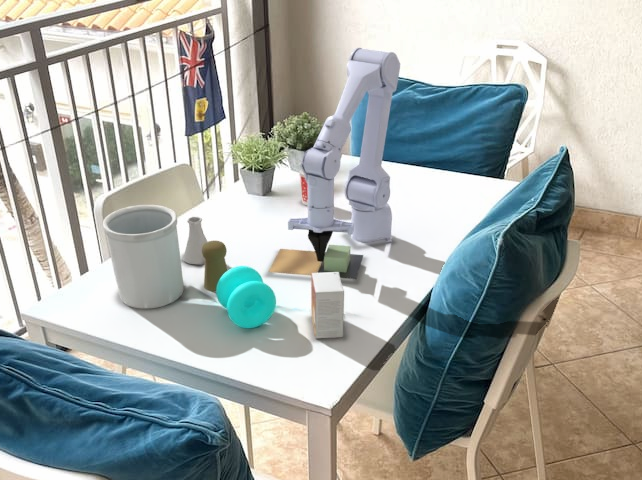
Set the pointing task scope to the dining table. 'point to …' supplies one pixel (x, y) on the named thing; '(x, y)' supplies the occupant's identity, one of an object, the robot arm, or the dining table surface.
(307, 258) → the board
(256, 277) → the turquoise spool
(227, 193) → the dining table surface
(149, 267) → the utensil holder
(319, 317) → the small box
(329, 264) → the sage block
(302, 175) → the beverage cup
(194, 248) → the flask
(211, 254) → the cork
